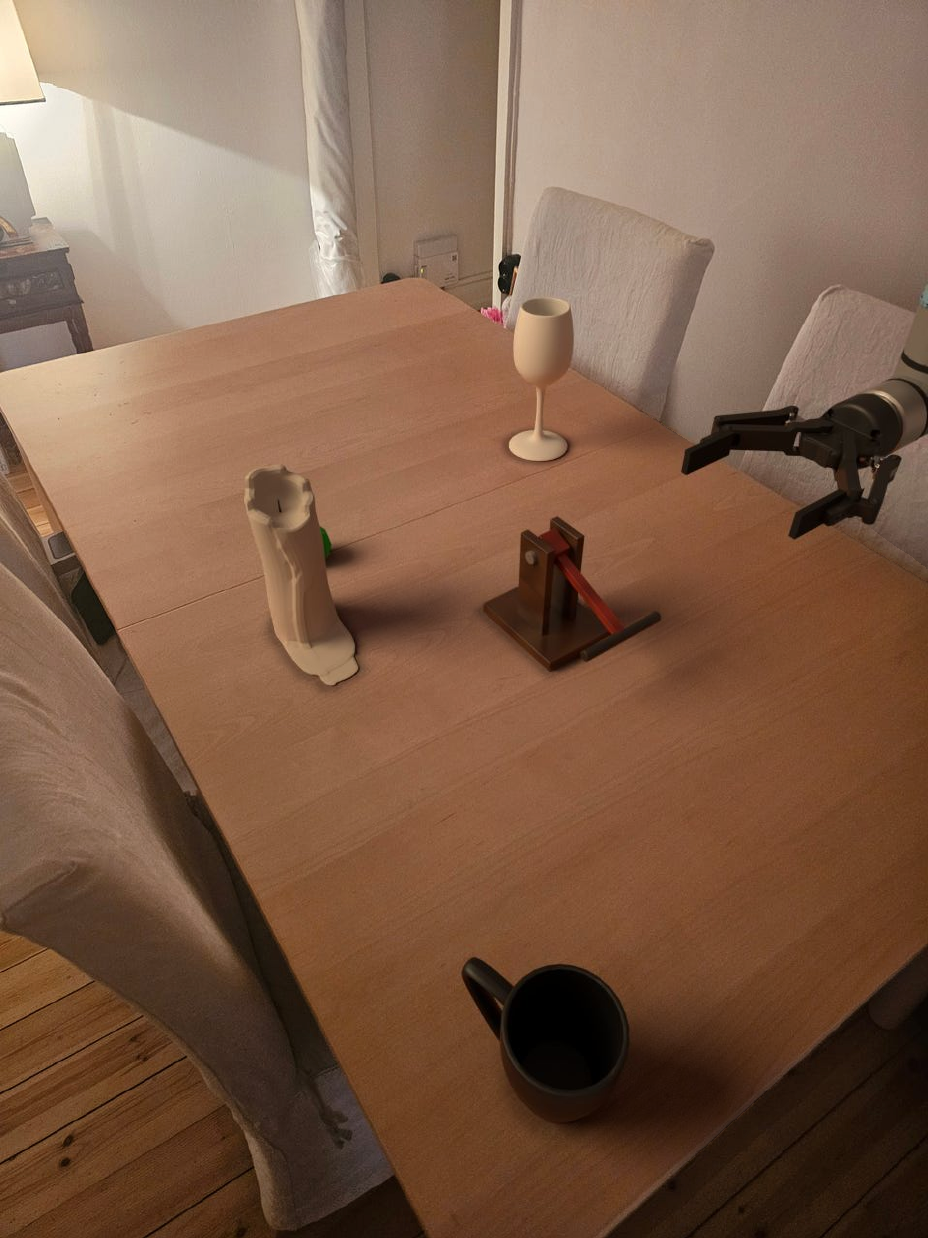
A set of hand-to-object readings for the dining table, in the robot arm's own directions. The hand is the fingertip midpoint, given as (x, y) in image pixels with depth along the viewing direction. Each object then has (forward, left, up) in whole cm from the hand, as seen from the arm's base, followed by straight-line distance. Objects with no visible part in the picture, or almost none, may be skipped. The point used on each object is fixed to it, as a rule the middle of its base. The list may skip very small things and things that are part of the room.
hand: (737, 492), depth 80 cm
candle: (+28, +33, -19) cm, 47 cm away
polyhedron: (+41, +25, -19) cm, 51 cm away
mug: (-19, +46, -19) cm, 53 cm away
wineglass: (+41, -15, -19) cm, 47 cm away
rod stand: (+13, +12, -19) cm, 26 cm away
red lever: (+8, +13, -11) cm, 18 cm away
